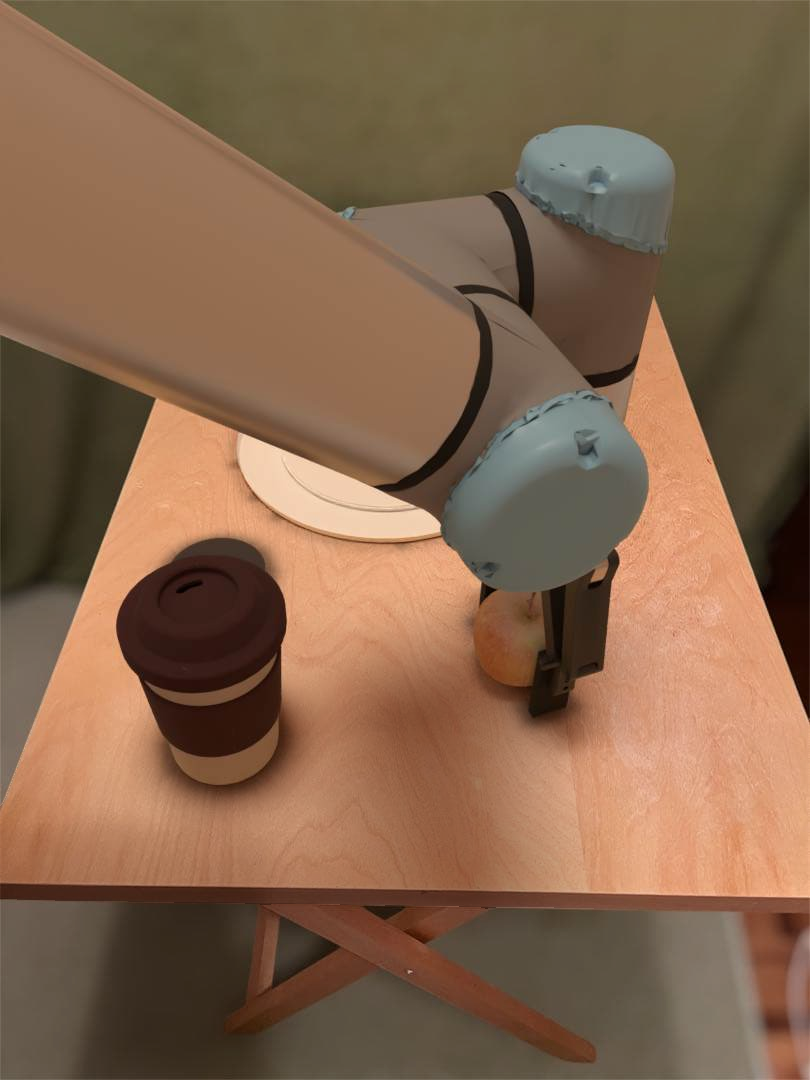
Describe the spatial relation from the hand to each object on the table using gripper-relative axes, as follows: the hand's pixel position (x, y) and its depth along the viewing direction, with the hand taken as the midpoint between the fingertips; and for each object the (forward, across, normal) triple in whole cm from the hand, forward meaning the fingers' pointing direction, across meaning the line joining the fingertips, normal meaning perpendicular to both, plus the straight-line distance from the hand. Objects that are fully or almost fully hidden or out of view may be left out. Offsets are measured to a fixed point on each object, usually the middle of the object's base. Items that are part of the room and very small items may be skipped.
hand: (519, 663), depth 69 cm
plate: (0, +29, 0) cm, 29 cm away
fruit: (0, 0, 0) cm, 0 cm away
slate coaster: (0, +17, +19) cm, 26 cm away
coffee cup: (0, +1, +22) cm, 22 cm away
